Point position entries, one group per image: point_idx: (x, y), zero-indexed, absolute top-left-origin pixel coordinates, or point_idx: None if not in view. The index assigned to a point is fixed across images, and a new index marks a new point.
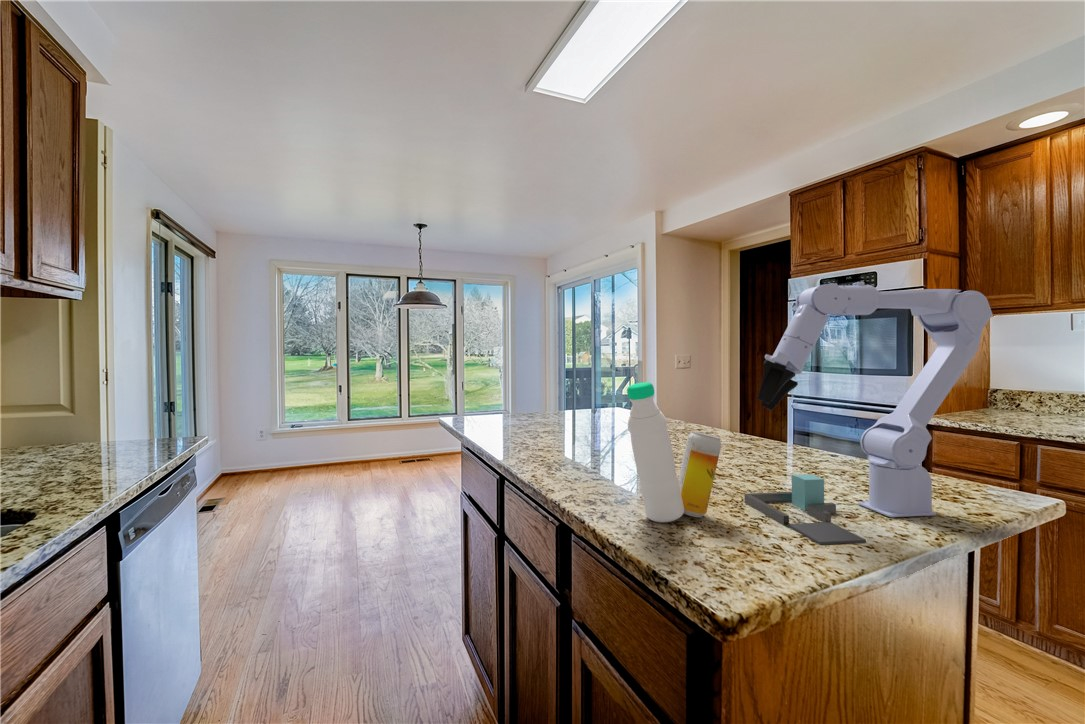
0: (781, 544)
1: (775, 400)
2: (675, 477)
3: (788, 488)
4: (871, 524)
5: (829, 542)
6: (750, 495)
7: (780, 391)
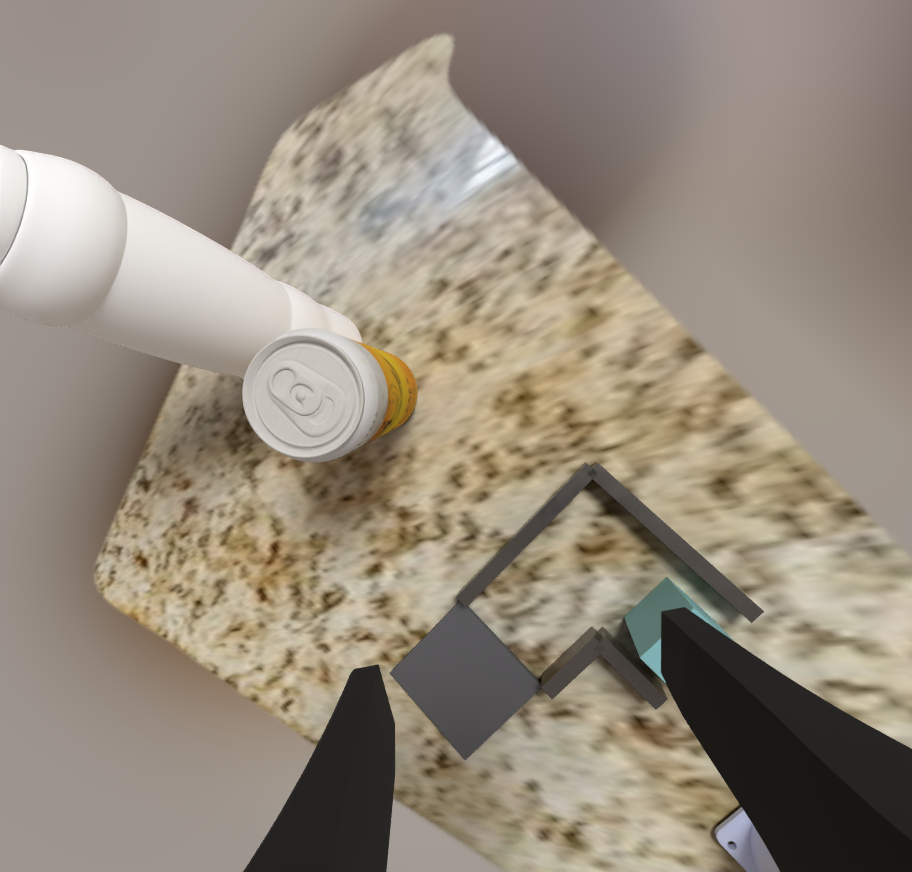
0: (348, 605)
1: (717, 745)
2: None
3: (875, 534)
4: (614, 776)
5: (405, 689)
6: (584, 481)
7: (799, 866)
